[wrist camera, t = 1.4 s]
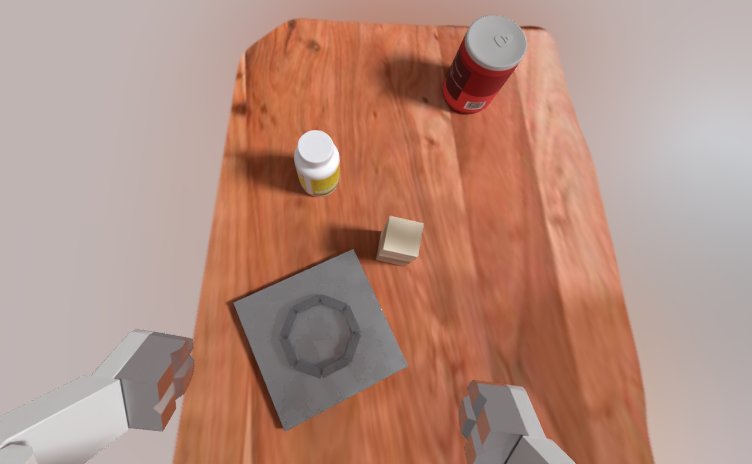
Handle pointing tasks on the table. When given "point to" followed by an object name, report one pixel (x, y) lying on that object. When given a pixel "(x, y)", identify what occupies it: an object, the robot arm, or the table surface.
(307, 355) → the grey square socket board
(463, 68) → the canned food
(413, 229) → the birch block
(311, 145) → the supplement bottle
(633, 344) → the table surface
